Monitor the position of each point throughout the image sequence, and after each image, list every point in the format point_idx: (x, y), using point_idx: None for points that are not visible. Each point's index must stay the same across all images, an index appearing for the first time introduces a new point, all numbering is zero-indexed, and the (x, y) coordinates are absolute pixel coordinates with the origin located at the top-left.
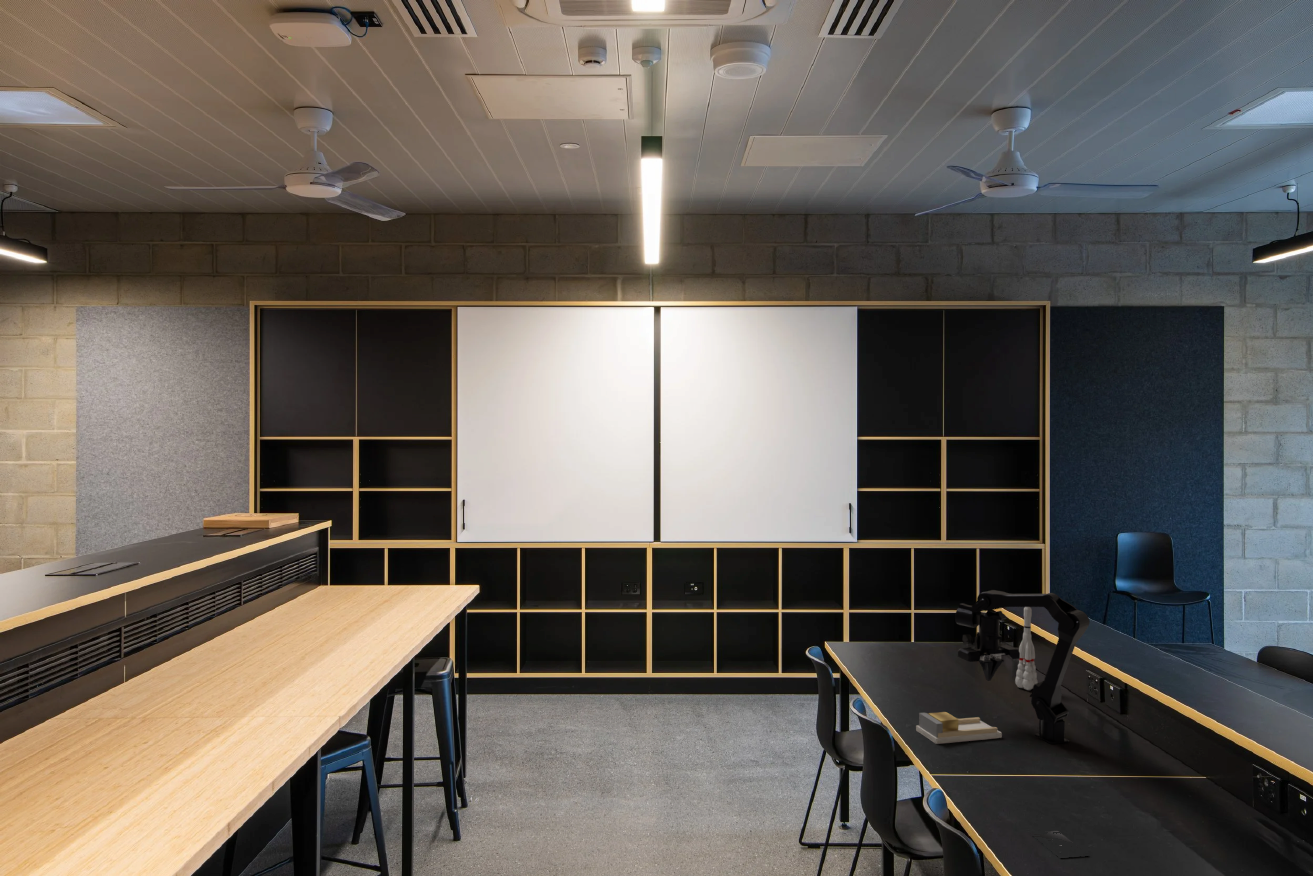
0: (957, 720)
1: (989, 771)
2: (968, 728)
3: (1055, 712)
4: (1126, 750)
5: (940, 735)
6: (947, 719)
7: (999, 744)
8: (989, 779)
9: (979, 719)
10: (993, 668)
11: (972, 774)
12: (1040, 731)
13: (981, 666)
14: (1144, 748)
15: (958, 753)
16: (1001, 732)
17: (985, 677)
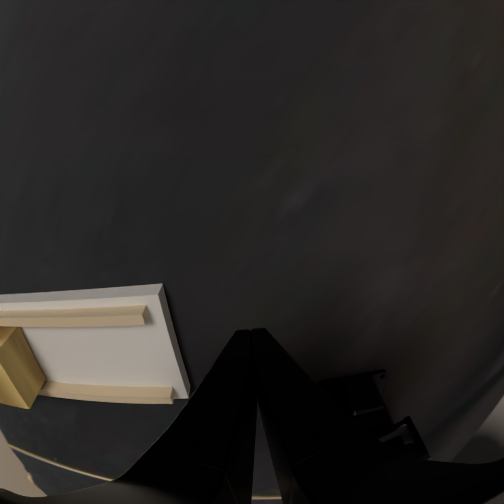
0: (28, 406)
1: (91, 470)
2: (84, 356)
3: (407, 434)
4: (448, 423)
5: None
6: (1, 399)
7: (159, 413)
8: (86, 479)
9: (143, 322)
10: (283, 502)
11: (62, 465)
12: (337, 393)
13: (161, 437)
14: (483, 408)
15: (46, 418)
16: (187, 397)
17: (226, 348)
